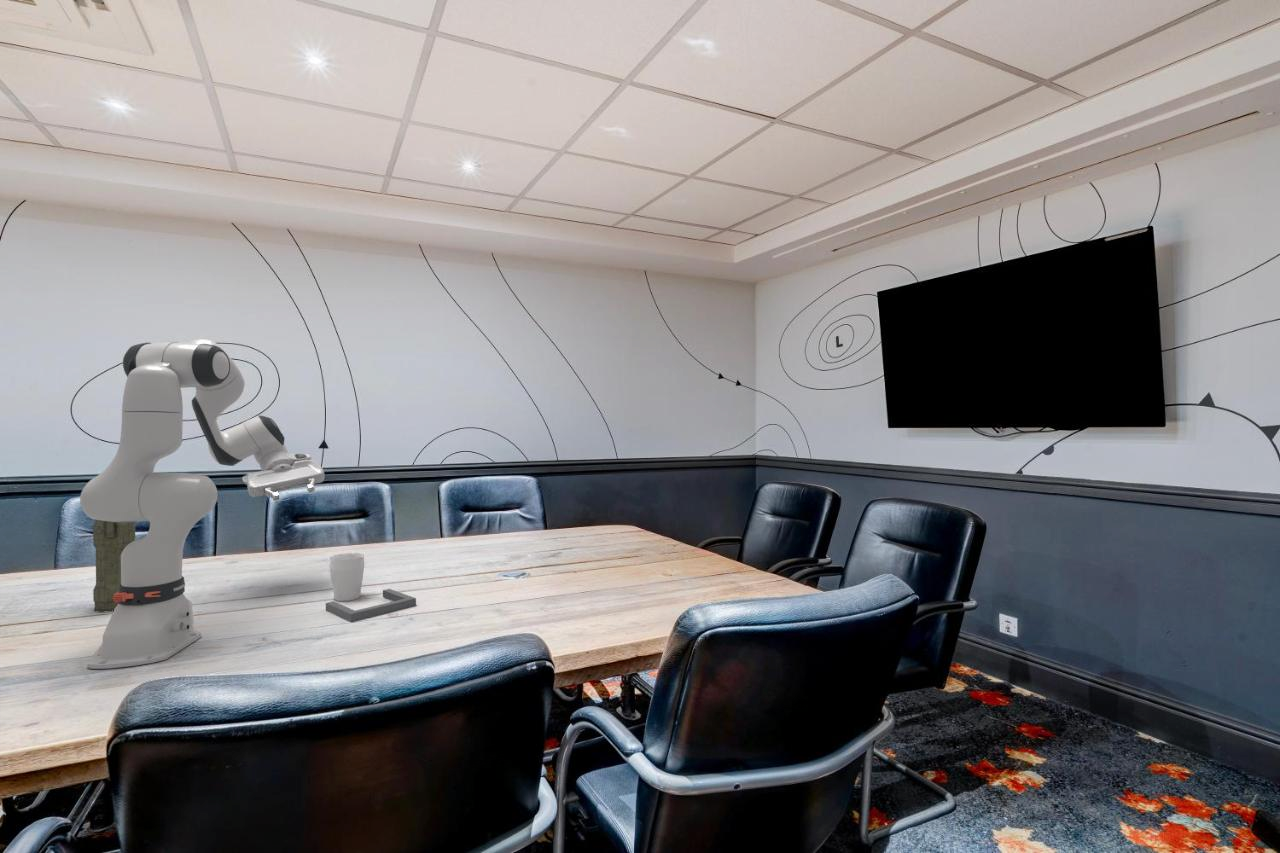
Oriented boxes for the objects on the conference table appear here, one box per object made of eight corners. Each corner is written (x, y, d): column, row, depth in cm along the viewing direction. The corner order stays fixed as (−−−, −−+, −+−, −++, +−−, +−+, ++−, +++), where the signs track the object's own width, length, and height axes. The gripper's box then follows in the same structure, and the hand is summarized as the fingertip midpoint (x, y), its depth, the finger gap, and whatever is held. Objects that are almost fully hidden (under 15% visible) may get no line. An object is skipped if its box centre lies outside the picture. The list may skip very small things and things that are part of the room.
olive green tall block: (91, 615, 161) (90, 481, 161) (95, 604, 171) (94, 478, 170) (135, 609, 167) (134, 479, 166) (136, 599, 176) (135, 476, 175)
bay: (325, 610, 166) (325, 602, 166) (389, 595, 180) (389, 588, 180) (350, 622, 157) (350, 614, 157) (416, 605, 171) (416, 598, 171)
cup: (355, 602, 173) (355, 560, 173) (323, 602, 173) (323, 559, 173) (370, 593, 182) (369, 553, 182) (339, 593, 182) (339, 552, 182)
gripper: (239, 467, 180) (253, 494, 172) (314, 452, 194) (331, 477, 186) (240, 484, 183) (254, 512, 175) (315, 469, 197) (330, 494, 189)
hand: (294, 494), depth 181 cm, fingers open, 8 cm apart
